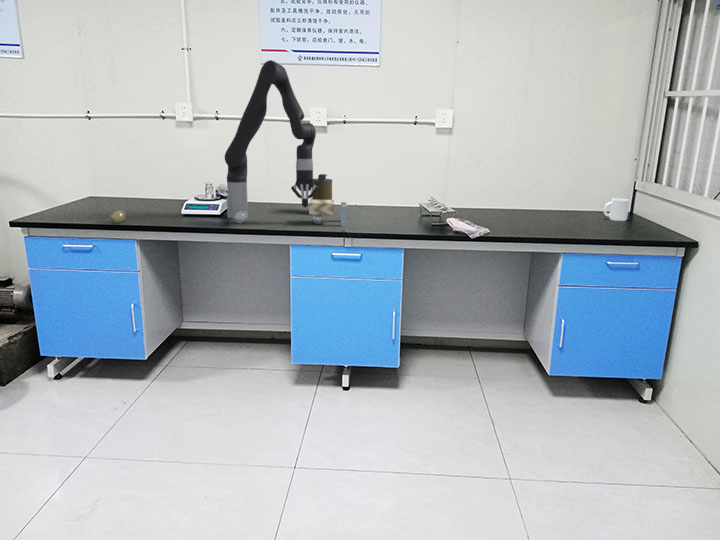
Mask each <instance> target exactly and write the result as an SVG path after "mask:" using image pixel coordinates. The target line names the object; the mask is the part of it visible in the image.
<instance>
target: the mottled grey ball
mask: <svg viewBox="0 0 720 540" xmlns="http://www.w3.org/2000/svg"><path fill="white" fill-rule="evenodd" d="M324 218H325V215H323V214H312V219H311V220H312V222H313V223H314V224H315V225H322V223H323V222H324Z"/></svg>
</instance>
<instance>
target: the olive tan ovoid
mask: <svg viewBox="0 0 720 540" xmlns="http://www.w3.org/2000/svg"><path fill="white" fill-rule="evenodd" d="M126 218H127V214H126V212H125V211H124V210H121V209H119V210H116V211H113V212H111V213H110V215H109V219H110V221H111V222H112V223H113V224H114V223H115V224H117V223H121V222H122V221H125V220H126Z"/></svg>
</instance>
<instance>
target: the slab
mask: <svg viewBox="0 0 720 540" xmlns="http://www.w3.org/2000/svg"><path fill="white" fill-rule="evenodd" d="M334 201H335V200H334V199H332V200H312V199H310V200H309V201H308V207H309V208H308V211H309V212H308V213H309V215H313V214H330V215H334V214H335V213H334V211H335V205H334V204H335V202H334Z"/></svg>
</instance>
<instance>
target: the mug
mask: <svg viewBox="0 0 720 540" xmlns="http://www.w3.org/2000/svg"><path fill="white" fill-rule="evenodd" d="M608 206H610V207H609V212H607V208H608ZM629 207H630V199H627V198H621V197H620V198H617V197H616V198H615V197H614V198H611V200H610V201H609V202H606V203H605V205H604V206H603V209H602V210H603V211H602V213H603V214H604V216H606V217H608V219H609V220H610V221H615V222H625V221H627V220H628V215H629V214H628V213H629Z"/></svg>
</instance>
